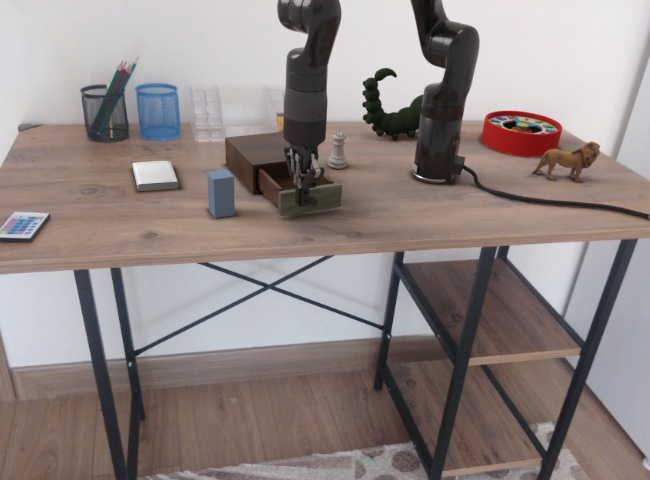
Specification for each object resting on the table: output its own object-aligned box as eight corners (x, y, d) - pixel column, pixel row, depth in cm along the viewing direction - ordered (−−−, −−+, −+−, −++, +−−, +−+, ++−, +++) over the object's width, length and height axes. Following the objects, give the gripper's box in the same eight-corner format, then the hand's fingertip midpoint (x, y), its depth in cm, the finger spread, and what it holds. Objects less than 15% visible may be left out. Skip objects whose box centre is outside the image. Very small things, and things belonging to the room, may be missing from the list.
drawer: (343, 208, 129) (345, 187, 127) (282, 218, 124) (283, 196, 121) (306, 176, 142) (307, 156, 140) (250, 184, 137) (250, 163, 134)
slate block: (234, 215, 126) (233, 176, 122) (215, 218, 124) (213, 179, 120) (228, 207, 129) (227, 169, 124) (208, 209, 127) (206, 171, 123)
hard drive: (178, 181, 134) (170, 159, 144) (137, 184, 131) (131, 162, 141) (178, 188, 135) (170, 166, 144) (138, 191, 132) (132, 169, 142)
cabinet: (315, 185, 141) (316, 157, 137) (253, 194, 135) (252, 165, 131) (283, 157, 153) (284, 131, 150) (225, 164, 147) (224, 137, 144)
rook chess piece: (344, 170, 149) (347, 136, 145) (325, 168, 149) (327, 134, 145) (348, 163, 153) (350, 130, 148) (329, 161, 153) (331, 128, 149)
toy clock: (500, 134, 160) (475, 109, 176) (495, 156, 163) (471, 130, 180) (575, 135, 163) (544, 111, 179) (569, 157, 166) (539, 131, 183)
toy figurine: (369, 150, 166) (459, 139, 171) (369, 75, 156) (465, 65, 160) (359, 137, 174) (445, 127, 179) (358, 65, 163) (450, 56, 168)
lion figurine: (586, 174, 156) (597, 138, 152) (595, 183, 152) (606, 146, 147) (527, 172, 155) (536, 135, 151) (534, 180, 151) (543, 143, 146)
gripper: (342, 122, 108) (335, 216, 118) (308, 100, 118) (305, 189, 127) (301, 126, 105) (298, 222, 115) (270, 103, 115) (269, 194, 124)
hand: (301, 204), depth 121 cm, fingers closed
